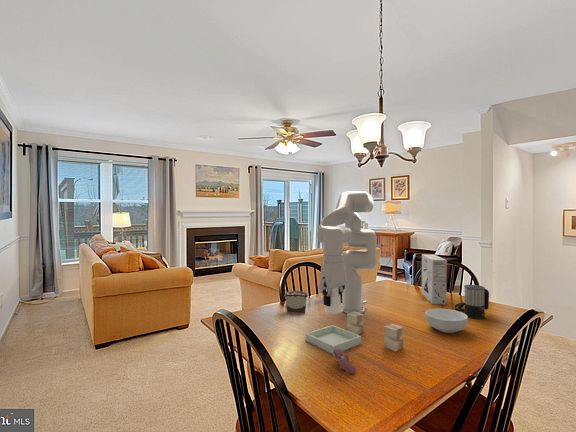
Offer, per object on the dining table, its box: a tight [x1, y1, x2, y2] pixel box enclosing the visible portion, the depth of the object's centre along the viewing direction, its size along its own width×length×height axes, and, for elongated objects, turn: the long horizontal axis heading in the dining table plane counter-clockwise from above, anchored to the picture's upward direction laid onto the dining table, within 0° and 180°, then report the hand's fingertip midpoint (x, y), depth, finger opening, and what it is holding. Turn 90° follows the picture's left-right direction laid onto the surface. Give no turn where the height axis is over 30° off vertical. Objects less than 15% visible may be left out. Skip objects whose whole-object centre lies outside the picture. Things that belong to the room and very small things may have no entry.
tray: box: [304, 324, 362, 356], centre depth 127 cm, size 16×16×3 cm
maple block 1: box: [346, 311, 365, 336], centre depth 138 cm, size 5×5×8 cm
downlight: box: [322, 287, 343, 315], centre depth 127 cm, size 8×7×10 cm
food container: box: [283, 290, 309, 314], centre depth 166 cm, size 12×6×10 cm, turn 84°
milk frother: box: [454, 284, 490, 320], centre depth 162 cm, size 14×16×15 cm
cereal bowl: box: [425, 308, 469, 334], centre depth 141 cm, size 17×17×7 cm
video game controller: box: [332, 348, 357, 375], centre depth 107 cm, size 10×5×7 cm, turn 6°
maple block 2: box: [383, 323, 404, 352], centre depth 123 cm, size 5×5×8 cm
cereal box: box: [421, 253, 448, 306], centre depth 188 cm, size 22×8×25 cm, turn 172°
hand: (333, 303), depth 127 cm, fingers closed on downlight, 5 cm apart
